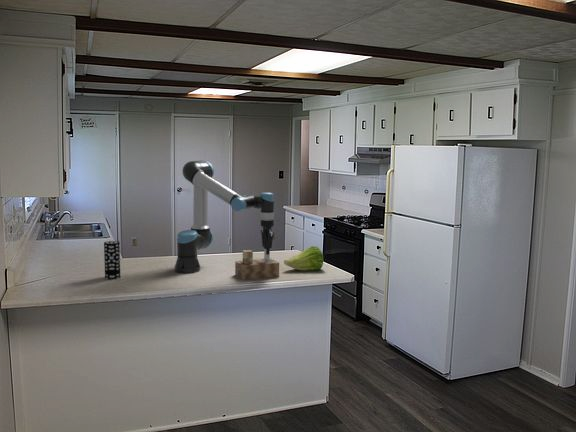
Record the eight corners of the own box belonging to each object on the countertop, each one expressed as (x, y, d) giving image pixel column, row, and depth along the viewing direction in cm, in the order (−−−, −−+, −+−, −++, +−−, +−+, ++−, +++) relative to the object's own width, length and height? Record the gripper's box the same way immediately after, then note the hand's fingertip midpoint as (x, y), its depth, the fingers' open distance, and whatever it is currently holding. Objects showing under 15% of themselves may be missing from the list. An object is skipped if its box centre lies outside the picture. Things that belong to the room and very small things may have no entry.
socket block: (243, 280, 300) (243, 266, 298) (235, 274, 311) (235, 261, 310) (279, 276, 310) (279, 262, 308) (269, 271, 321) (269, 258, 320)
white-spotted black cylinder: (111, 280, 295) (110, 244, 292) (101, 277, 299) (100, 242, 296) (123, 277, 302) (122, 242, 299) (113, 274, 306) (112, 240, 303)
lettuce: (289, 276, 314) (280, 272, 328) (326, 270, 324) (316, 266, 338) (287, 252, 313) (278, 249, 327) (324, 246, 322) (314, 243, 336)
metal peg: (264, 274, 310) (264, 261, 309) (261, 272, 314) (261, 259, 313) (271, 273, 312) (271, 260, 311) (268, 272, 316) (268, 258, 315)
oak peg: (245, 265, 304) (245, 252, 303) (242, 264, 308) (242, 250, 306) (252, 265, 306) (252, 251, 305) (249, 263, 310) (249, 249, 308)
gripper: (278, 220, 304) (277, 261, 308) (268, 217, 316) (267, 256, 319) (266, 221, 301) (265, 262, 304) (256, 218, 313) (256, 257, 316)
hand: (266, 259), depth 312 cm, fingers closed
